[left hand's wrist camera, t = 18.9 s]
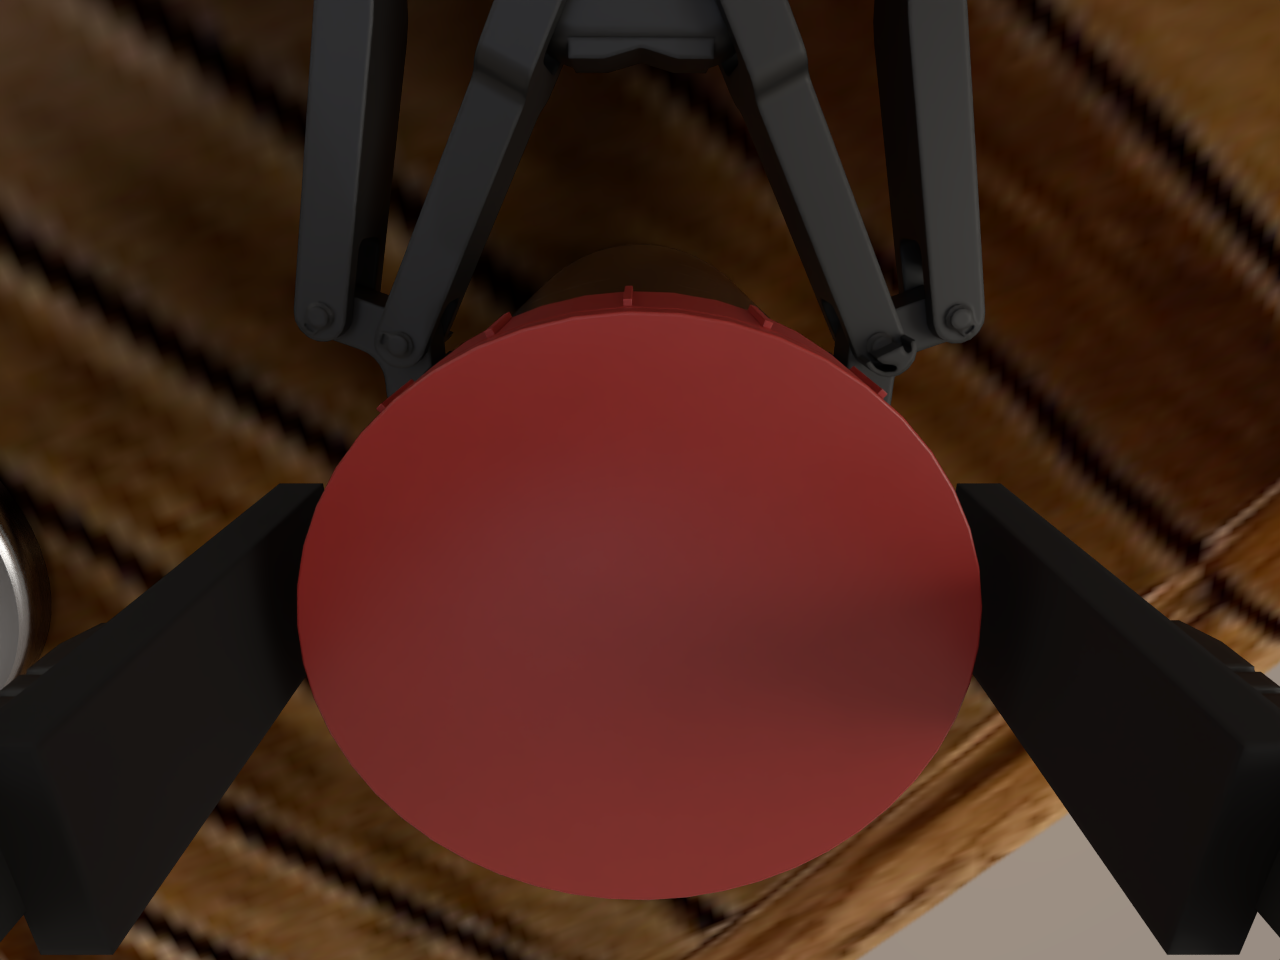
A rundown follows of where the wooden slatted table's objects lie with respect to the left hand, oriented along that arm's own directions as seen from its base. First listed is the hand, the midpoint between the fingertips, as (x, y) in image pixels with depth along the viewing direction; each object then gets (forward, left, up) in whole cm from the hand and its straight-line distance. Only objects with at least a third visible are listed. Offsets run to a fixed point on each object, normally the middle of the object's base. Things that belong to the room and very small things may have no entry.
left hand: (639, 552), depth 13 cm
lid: (0, 0, +3) cm, 3 cm away
